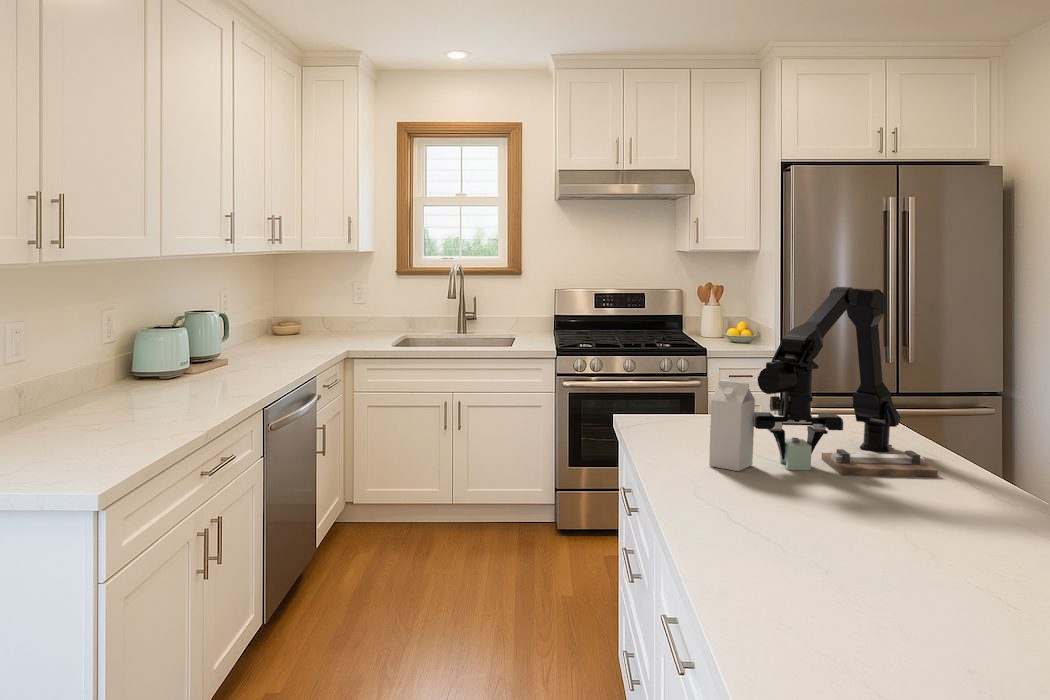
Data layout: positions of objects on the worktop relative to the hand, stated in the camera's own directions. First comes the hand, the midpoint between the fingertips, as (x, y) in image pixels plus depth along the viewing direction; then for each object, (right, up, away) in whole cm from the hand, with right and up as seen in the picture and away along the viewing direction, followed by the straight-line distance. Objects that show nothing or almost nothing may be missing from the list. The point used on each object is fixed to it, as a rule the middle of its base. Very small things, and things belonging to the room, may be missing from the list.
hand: (794, 459), depth 180 cm
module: (0, -2, 0) cm, 2 cm away
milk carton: (-14, -2, 0) cm, 14 cm away
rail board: (+18, -2, -1) cm, 18 cm away
